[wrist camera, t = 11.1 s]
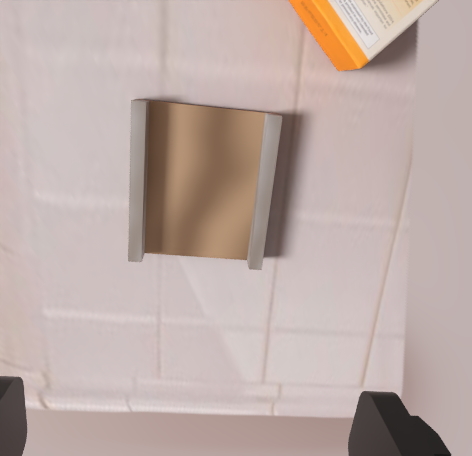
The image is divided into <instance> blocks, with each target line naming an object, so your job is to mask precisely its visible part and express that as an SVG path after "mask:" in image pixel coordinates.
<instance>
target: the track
mask: <svg viewBox="0 0 472 456" xmlns="http://www.w3.org/2000/svg"><path fill="white" fill-rule="evenodd" d="M282 117H283V116H281V115H279V114H275V113H265V112H256V111H246V110H237V109H227V108H218V107H208V106H198V105H189V104H179V103H170V102H160V101H151V100H141V99H135V100H131V139H130V194H129V249H128V261H132V262H142V259H143V256H144V253H152V254H166V255H181V256H196V257H210V258H225V259H240V260H247V262H248V266H249V269H253V270H262V263H263V255H264V248H265V241H266V233H267V226H268V219H269V212H270V204H271V197H272V190H273V182H274V175H275V168H276V161H277V153H278V146H279V139H280V132H281V124H282Z"/></svg>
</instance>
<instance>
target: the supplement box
mask: <svg viewBox="0 0 472 456" xmlns="http://www.w3.org/2000/svg"><path fill="white" fill-rule="evenodd" d="M438 1H439V0H289V2H290V3H291V4H292V6H293V8H294V9H295V11H296V12H297V13H298V15H299V16H300V18H301V19H302V21H303V22H304V23H305V25H306V26H307V28H308V29H309V31H310V32H311V34H312V35H313V36H314V38H315V39H316V41H317V42H318V43H319V45H320V46H321V48H322V49H323V51H324V52H325V53H326V55H327V56H328V57H329V58H330V60H331V62H332V63H333V65H334V66H335V67H336V69H337V70H338V71H343V70H352V69H361V68H362V67H364V66H365V65H366V64H367V63H369V62H370V61H371V60H372V59H373V58H374V57H375V56H376V55H377V54H379V53H380V52H381V51H382V50H383V49H384V48H385V47H387V46H388V45H389V44H390V43H391V42H392V41H394V40H395V39H396V38H397V37H398V36H399V35H400V34H402V33H403V32H404V31H405V30H406V29H407V28H408V27H409V26H411V25H412V24H413V23H414V22H415V21H416V20H418V19H419V18H420V17H421V16H422V15H423V14H424V13H425V12H426V11H427V10H429V9H430V8H431V7H432V6H433V5H434V4H435V3H437V2H438Z"/></svg>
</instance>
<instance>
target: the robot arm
mask: <svg viewBox="0 0 472 456" xmlns="http://www.w3.org/2000/svg"><path fill="white" fill-rule="evenodd" d="M26 437H27V420H26V408H25V397H24V385H23V380H22V378H21V377H9V376H0V456H22V454H23V450H24V447H25V443H26ZM348 451H349V456H451V453H450V452H449V450H448V449H447V448H446V446H445V444H444V443H443V441H442V440H441V438H440V437H439V435H438V434H437V433H436V432H435V431H434V430H433V429H432V428H431V427H430V426H428V425H427V424H426V423H425V422H424V421H423V420H422V419H421V418H420V417H419V416H410V414H409V413H408V411H407V409H406V408H405V406H404V405H403V403H402V401H401V400H400V398H399V397H398V395H397V394H396V393H393V392H373V391H363V392H362V393H361V395H360V397H359V401H358V405H357V409H356V412H355V416H354V420H353V424H352V428H351V432H350V436H349V442H348Z"/></svg>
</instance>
